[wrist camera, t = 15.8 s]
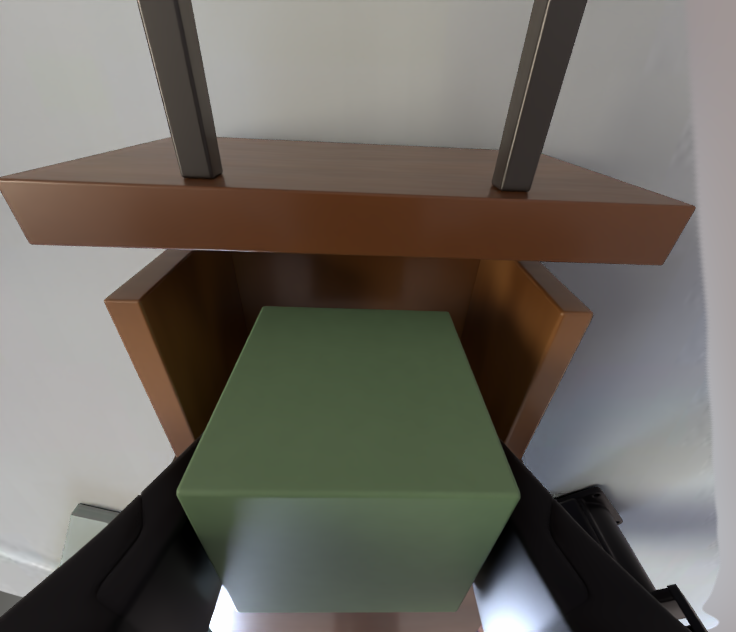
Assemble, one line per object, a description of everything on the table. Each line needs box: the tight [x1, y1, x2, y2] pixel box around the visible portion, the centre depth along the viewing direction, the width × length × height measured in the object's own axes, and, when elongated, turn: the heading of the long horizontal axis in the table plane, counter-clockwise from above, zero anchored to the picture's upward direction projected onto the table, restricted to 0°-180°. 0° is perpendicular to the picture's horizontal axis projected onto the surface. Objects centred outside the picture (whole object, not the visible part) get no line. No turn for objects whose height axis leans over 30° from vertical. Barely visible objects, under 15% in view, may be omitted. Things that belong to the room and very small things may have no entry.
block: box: [176, 306, 520, 613], centre depth 8 cm, size 5×5×5 cm
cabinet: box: [172, 455, 523, 632], centre depth 19 cm, size 15×14×9 cm
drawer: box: [0, 0, 696, 460], centre depth 11 cm, size 18×12×7 cm
